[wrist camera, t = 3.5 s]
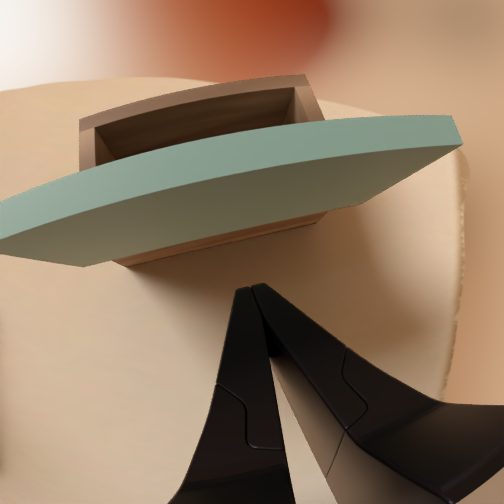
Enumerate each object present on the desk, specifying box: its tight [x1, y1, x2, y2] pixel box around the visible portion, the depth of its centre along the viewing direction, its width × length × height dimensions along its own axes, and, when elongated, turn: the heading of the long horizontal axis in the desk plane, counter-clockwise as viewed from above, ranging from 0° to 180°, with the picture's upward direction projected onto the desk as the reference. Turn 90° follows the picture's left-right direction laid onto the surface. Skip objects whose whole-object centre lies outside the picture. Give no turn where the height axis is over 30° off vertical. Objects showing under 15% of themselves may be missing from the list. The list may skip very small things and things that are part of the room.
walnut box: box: [79, 74, 328, 267], centre depth 19 cm, size 8×14×7 cm, turn 104°
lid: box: [0, 115, 463, 267], centre depth 11 cm, size 8×14×1 cm
